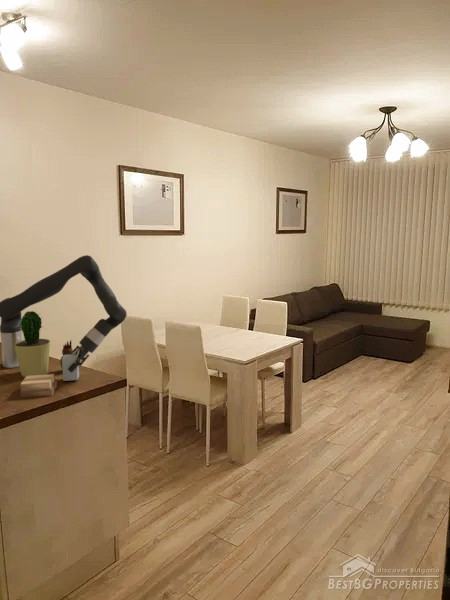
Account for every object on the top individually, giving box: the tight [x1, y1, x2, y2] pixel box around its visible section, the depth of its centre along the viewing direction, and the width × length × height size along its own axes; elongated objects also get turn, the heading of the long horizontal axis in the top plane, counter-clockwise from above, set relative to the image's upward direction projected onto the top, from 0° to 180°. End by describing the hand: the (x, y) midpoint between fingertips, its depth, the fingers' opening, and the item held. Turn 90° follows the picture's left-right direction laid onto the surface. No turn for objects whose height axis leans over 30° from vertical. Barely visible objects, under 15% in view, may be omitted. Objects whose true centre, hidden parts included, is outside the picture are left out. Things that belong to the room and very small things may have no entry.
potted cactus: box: [14, 310, 51, 377], centre depth 209 cm, size 15×15×30 cm
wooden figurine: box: [59, 339, 74, 370], centre depth 214 cm, size 7×6×15 cm
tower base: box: [19, 379, 58, 398], centre depth 188 cm, size 12×12×3 cm
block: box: [61, 353, 80, 382], centre depth 201 cm, size 6×6×10 cm
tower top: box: [20, 373, 56, 391], centre depth 188 cm, size 11×11×3 cm
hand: (67, 368), depth 200 cm, fingers closed on block, 8 cm apart
